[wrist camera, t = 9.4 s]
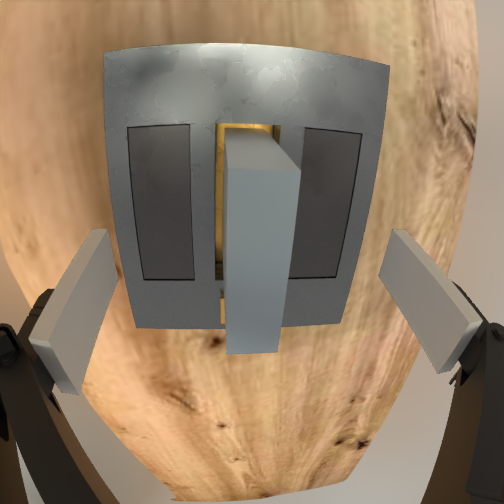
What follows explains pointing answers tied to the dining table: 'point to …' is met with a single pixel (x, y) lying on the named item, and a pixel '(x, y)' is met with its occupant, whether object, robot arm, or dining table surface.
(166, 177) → the panel
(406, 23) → the dining table surface
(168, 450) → the dining table surface
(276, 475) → the dining table surface
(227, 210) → the panel
